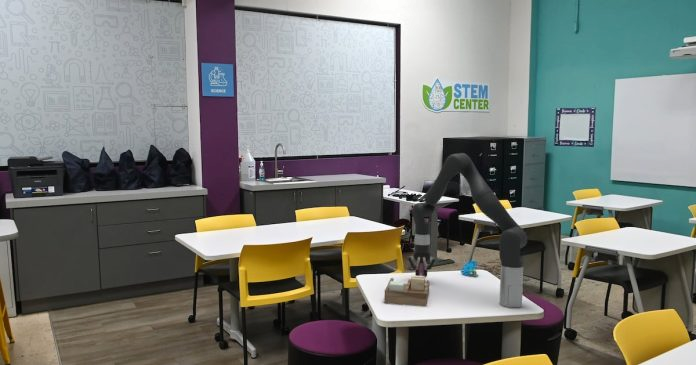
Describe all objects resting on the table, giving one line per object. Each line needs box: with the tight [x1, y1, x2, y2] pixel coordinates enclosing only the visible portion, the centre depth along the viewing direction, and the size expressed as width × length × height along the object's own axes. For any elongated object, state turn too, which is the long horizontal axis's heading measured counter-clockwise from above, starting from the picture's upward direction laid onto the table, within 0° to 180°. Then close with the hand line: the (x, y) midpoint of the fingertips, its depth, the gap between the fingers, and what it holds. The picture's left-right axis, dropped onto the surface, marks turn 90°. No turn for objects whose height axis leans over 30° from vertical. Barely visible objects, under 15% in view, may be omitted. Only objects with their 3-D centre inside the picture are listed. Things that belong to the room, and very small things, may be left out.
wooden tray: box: [383, 277, 430, 307], centre depth 243 cm, size 22×18×6 cm
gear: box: [460, 259, 479, 277], centre depth 284 cm, size 11×6×10 cm
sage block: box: [389, 280, 406, 291], centre depth 237 cm, size 6×6×5 cm
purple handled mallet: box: [410, 263, 426, 290], centre depth 256 cm, size 27×6×9 cm, turn 168°
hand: (421, 277), depth 268 cm, fingers closed on purple handled mallet, 3 cm apart
